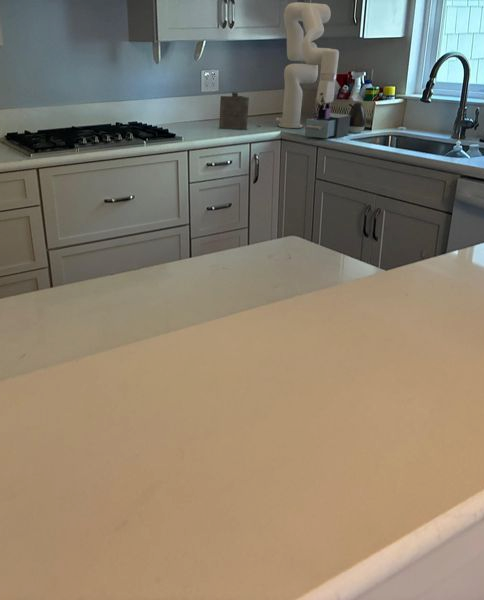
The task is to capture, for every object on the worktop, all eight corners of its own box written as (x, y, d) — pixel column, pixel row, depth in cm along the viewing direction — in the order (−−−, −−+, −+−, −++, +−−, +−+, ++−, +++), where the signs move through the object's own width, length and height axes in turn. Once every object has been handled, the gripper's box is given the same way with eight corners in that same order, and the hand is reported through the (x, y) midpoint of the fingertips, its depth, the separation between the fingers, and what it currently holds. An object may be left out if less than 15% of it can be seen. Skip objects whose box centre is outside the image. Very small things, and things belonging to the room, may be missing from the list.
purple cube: (317, 118, 294) (318, 108, 292) (321, 117, 297) (322, 107, 295) (325, 119, 291) (327, 109, 290) (329, 118, 295) (331, 108, 293)
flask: (219, 127, 319) (221, 91, 312) (247, 128, 317) (249, 92, 310) (218, 128, 316) (220, 91, 309) (246, 129, 314) (248, 92, 307)
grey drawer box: (336, 138, 297) (338, 117, 293) (312, 135, 304) (314, 115, 300) (348, 135, 308) (350, 115, 304) (325, 132, 315) (327, 112, 311)
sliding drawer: (322, 139, 286) (324, 122, 283) (300, 136, 292) (302, 119, 289) (338, 135, 300) (340, 118, 297) (317, 132, 306) (318, 116, 303)
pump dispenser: (339, 131, 319) (343, 100, 313) (355, 130, 323) (359, 100, 317) (352, 134, 310) (356, 102, 304) (368, 133, 314) (372, 102, 308)
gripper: (328, 76, 295) (323, 115, 302) (312, 77, 283) (308, 118, 290) (342, 77, 291) (338, 117, 298) (327, 78, 279) (323, 120, 286)
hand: (323, 117), depth 294 cm, fingers closed on purple cube, 4 cm apart
